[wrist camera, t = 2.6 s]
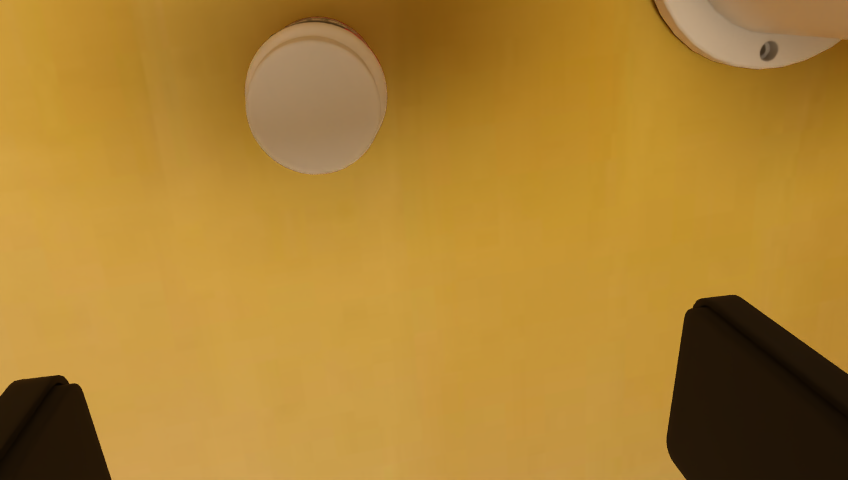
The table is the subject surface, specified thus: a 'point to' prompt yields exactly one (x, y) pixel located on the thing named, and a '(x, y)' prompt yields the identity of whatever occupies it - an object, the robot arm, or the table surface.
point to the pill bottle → (315, 96)
